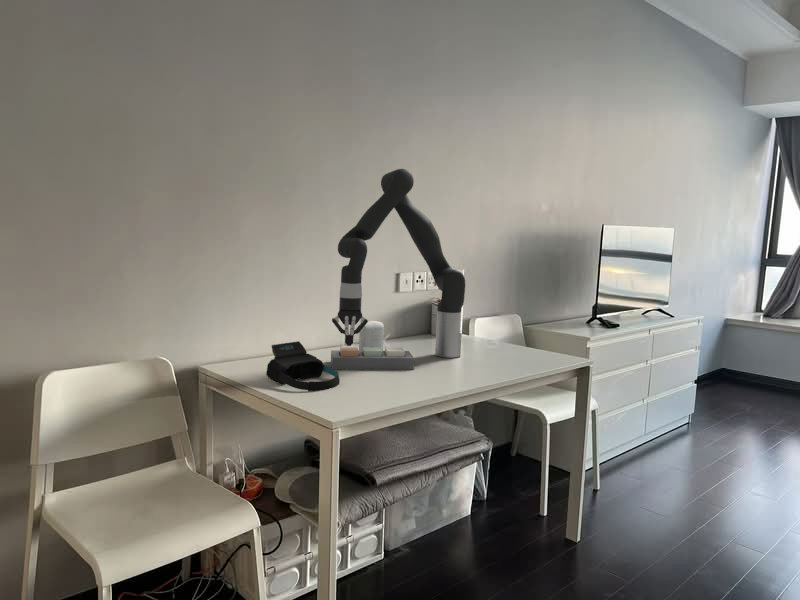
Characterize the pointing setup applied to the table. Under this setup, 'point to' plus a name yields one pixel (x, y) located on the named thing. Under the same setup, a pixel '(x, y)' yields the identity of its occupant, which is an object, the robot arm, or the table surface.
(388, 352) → the cream key
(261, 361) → the table surface
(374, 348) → the sage key
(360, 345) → the photo printer
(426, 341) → the table surface
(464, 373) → the table surface
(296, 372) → the virtual reality headset
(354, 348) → the terracotta key
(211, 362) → the table surface
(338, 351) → the panel
